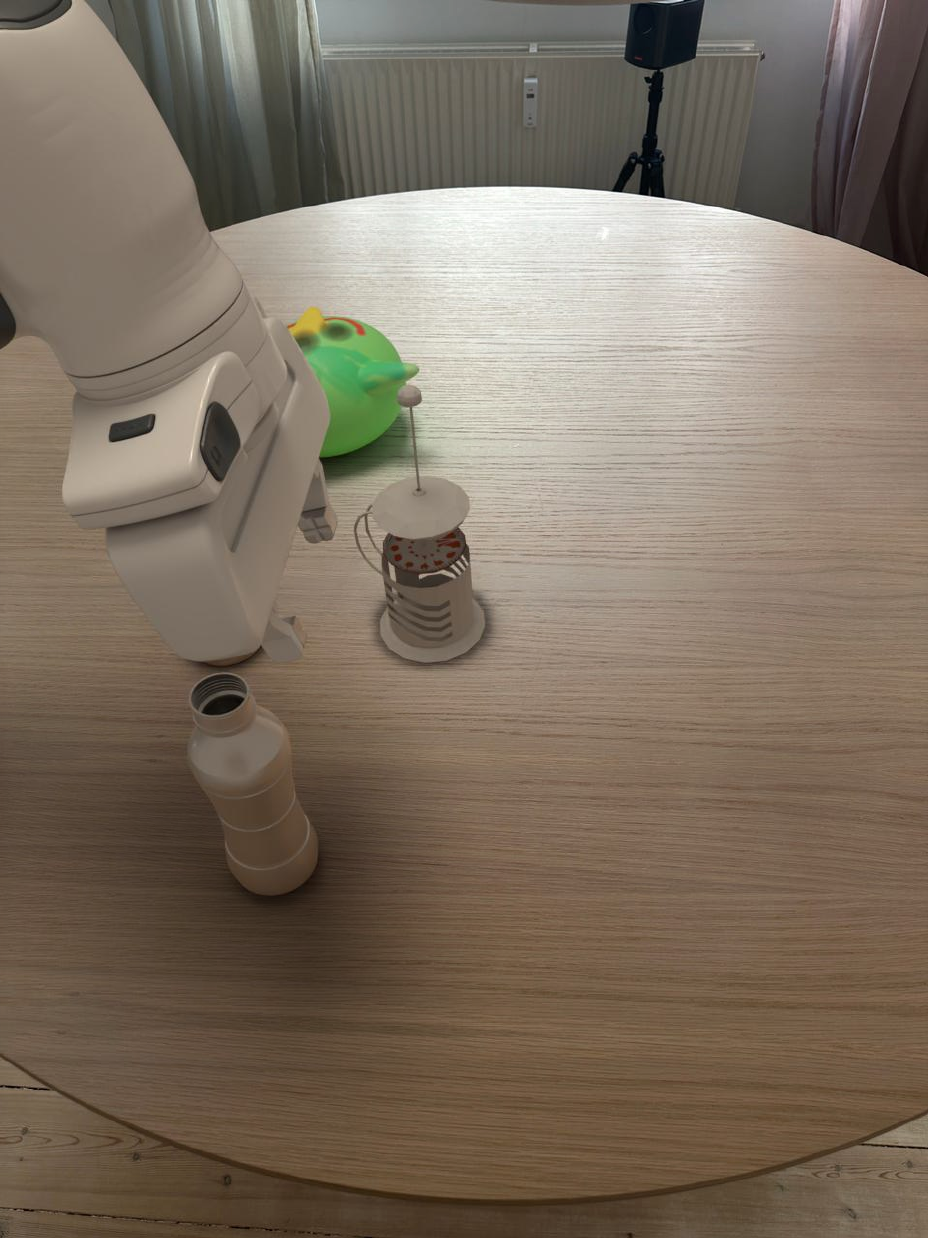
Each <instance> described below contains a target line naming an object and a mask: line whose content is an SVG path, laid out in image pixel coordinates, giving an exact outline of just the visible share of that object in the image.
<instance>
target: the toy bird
mask: <svg viewBox="0 0 928 1238" xmlns="http://www.w3.org/2000/svg"><path fill="white" fill-rule="evenodd" d="M284 325H285V326H286V327H287V328H288V330H289V331H290V332H291V334H292V336H293V337H294V339H295V340H296V342H297V344H298V345H299V347H300V349H301V350H302V352H303V354H304V355H305V357H306V359H307V361H308V362H309V364H310V366H311V368H312V370H313V371H314V373H315V375H316V377H317V379H318V380H319V382H320V384H321V386H322V388H323V390H324V392H325V394H326V398H327V401H328V406H329V411H330V423H329V426H328V429H327V432H326V435H325V438H324V441H323V445H322V448H321V451H320V454H319V458H331V457H336V456H342V455H344V454H348V453H351V452H354V451H356V450H360V449H361V448H363V447H365V446H366V445H369V444H370V443H372V442H374V441H375V440H377V439H378V438H379V437H380V436H382V435H383V434H384V433H386V431H388V430H389V428H390V427H391V426H392V425H393V424H394V422H395V420H397V418H398V416H399V414H400V412H401V411H402V407H403V406H401V405H399V404H398V400H397V393H398V390H399V389H400V388H401V387H403V386H405V385H407V382H408V381H410V380H411V379H413V378H414V377H416V376H417V375H418V374H419V372H420V367H419V366H418V365H417V364H415V363H411V362H405V361H403V360H402V358H401V356H400V354H399V352H398V351H397V349H396V347H395V346H394V344H393V343H392V341H390V340H389V339H388V337H387V336H386V335H385V334H384V333H382V332H381V331H379V330H378V329H376V328H375V327H373V326H372V325H369V324H368V323H366V322H364V321H361V320H358V319H356V318H355V319H354V318H351V317H346V316H339V315H323V314H322V311H321V309H320V308H319V307H318V306H310V307H308V308H307V309H306V310H305V311H304V312H303V313H302V315H301V316H300V317H299V319H297V320H295V321H292V322H289V323H287V324H284Z"/></svg>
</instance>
